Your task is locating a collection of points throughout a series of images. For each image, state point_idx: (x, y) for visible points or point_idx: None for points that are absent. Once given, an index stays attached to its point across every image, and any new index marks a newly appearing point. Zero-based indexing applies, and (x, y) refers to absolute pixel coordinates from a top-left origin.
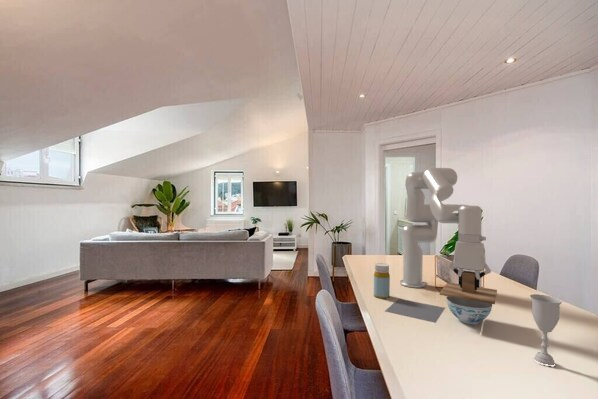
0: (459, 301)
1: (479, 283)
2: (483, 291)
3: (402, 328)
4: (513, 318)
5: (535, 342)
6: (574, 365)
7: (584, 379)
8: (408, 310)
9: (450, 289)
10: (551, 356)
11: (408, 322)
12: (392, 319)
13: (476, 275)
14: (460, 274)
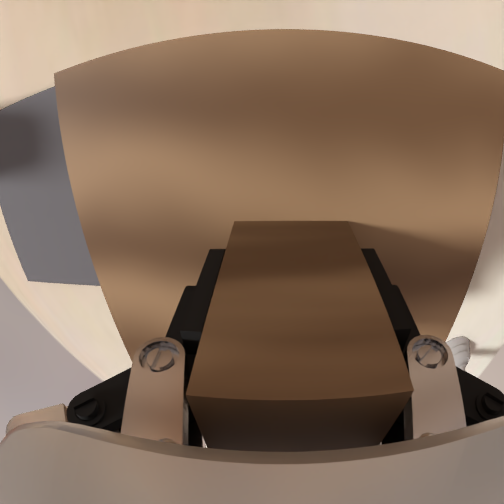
0: None
1: (405, 305)
2: (414, 202)
3: (128, 357)
4: (459, 19)
5: (484, 251)
6: (499, 327)
7: (482, 364)
8: (53, 226)
9: (154, 303)
10: (467, 363)
11: (112, 317)
12: (75, 318)
13: (385, 437)
14: (194, 427)
